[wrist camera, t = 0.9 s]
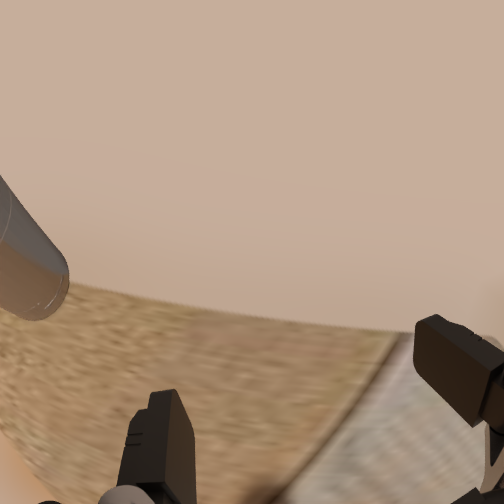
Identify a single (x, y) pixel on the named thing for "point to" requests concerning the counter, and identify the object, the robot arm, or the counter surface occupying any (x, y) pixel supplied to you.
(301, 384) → the counter surface
